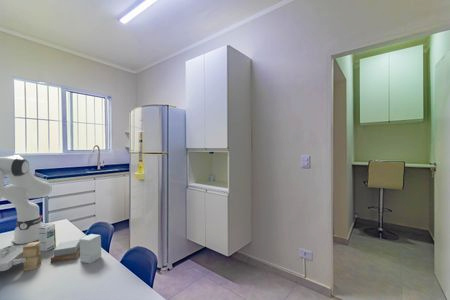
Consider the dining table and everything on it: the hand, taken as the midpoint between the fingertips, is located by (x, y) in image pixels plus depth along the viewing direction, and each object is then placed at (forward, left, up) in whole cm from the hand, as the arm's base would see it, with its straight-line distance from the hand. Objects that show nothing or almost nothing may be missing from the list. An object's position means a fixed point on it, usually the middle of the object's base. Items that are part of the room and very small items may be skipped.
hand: (31, 254), depth 110 cm
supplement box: (+1, +27, -7) cm, 28 cm away
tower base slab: (-8, +13, -7) cm, 17 cm away
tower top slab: (-8, +13, -4) cm, 16 cm away
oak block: (0, 0, -7) cm, 7 cm away
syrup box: (-22, -3, -7) cm, 23 cm away
